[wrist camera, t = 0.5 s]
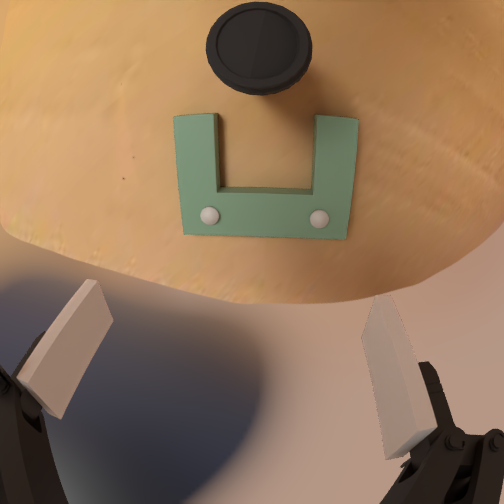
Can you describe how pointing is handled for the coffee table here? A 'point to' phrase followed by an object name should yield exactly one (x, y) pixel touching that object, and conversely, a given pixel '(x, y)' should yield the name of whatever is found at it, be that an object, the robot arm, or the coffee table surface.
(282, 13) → the coffee cup
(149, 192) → the coffee table surface
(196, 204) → the mint green u-shaped piece
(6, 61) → the coffee table surface
